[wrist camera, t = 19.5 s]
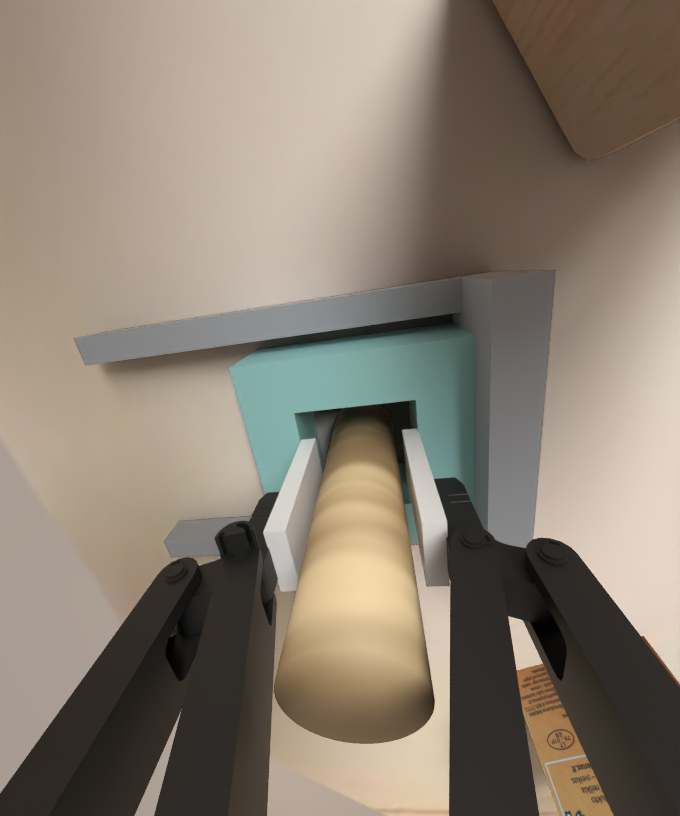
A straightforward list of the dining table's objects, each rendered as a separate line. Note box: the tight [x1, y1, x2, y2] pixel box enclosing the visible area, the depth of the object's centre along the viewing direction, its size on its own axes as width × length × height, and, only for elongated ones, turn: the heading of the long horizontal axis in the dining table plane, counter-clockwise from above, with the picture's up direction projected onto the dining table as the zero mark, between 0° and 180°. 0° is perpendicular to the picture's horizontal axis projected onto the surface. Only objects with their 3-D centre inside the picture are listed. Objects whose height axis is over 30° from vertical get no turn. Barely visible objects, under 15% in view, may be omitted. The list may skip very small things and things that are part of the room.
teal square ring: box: [229, 323, 475, 542], centre depth 18 cm, size 11×11×4 cm
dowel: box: [274, 404, 435, 744], centre depth 14 cm, size 4×4×14 cm
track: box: [73, 270, 555, 558], centre depth 18 cm, size 16×22×6 cm
